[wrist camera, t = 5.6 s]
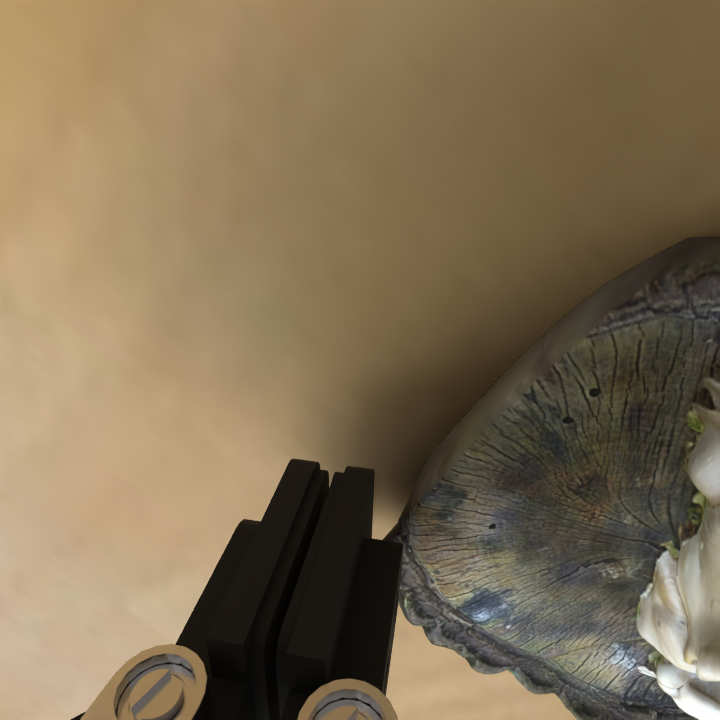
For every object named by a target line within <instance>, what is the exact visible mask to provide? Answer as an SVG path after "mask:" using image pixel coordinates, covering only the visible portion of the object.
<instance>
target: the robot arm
mask: <svg viewBox="0 0 720 720" xmlns="http://www.w3.org/2000/svg"><path fill="white" fill-rule="evenodd" d="M373 496H374V469H366V468H359V467H351V466H347V467H346V469H345V471H344V473H341V472H335V474H334V476H333V479H332V482H331V485H330V488H329V473H328V471H326V470H320V464H319V462H314V461H306V460H299V459H291V460H290V462H289V463H288V466H287V468H286V470H285V472H284V474H283V476H282V478H281V480H280V482H279V485H278V487H277V489H276V491H275V493H274V495H273V497H272V499H271V501H270V504H269V506H268V508H267V510H266V512H265V514H264V516H263V518H262V520H261V522H260V521H253V520H247V519H243V520H242V521H241V522H240V523H239V525H238V526H237V528H236V530H235V532H234V533H233V535H232V537H231V539H230V541H229V543H228V545H227V547H226V549H225V551H224V553H223V554H222V556H221V558H220V560H219V562H218V564H217V566H216V568H215V570H214V572H213V574H212V576H211V577H210V579H209V581H208V583H207V585H206V587H205V589H204V591H203V593H202V595H201V597H200V599H199V600H198V602H197V604H196V606H195V608H194V610H193V612H192V614H191V616H190V618H189V620H188V622H187V623H186V625H185V627H184V629H183V631H182V633H181V635H180V637H179V639H178V641H177V643H176V644H175V645H173V644H169V645H160V646H155V647H153V648H150V649H147V650H145V651H142V652H140V653H139V654H137V655H136V656H134V657H133V658H131V659H130V660H128V661H127V662H126V663H125V664H124V665H123V666H122V667H121V668H120V669H119V670H118V671H117V672H116V673H115V674H114V676H113V677H112V678H111V680H110V681H109V682H108V684H107V685H106V686H105V688H104V689H103V690H102V691H101V693H100V694H99V695H98V697H97V698H96V699H95V701H94V702H93V703H92V705H91V706H90V707H89V708H88V710H87V711H86V712H84V713H82V714H80V715H78V716H77V717H75V718H73V719H71V720H398V718H397V714H396V713H395V711H394V709H393V707H392V705H391V703H390V701H389V700H388V699H387V697H386V689H387V682H388V674H389V667H390V660H391V652H392V645H393V638H394V630H395V623H396V615H397V608H398V599H399V591H400V582H401V571H402V560H403V547H404V543H397V542H391V541H384V540H377V539H372V517H373Z"/></svg>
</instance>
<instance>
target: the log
mask: <svg viewBox="0 0 720 720" xmlns="http://www.w3.org/2000/svg"><path fill="white" fill-rule="evenodd" d="M398 521H399V522H398V523H397V524H396V525H395V526H394V528H393V529H392V530H391V531H390V532H389V533H388V534H387V535H386V537H385V538H384V539H383V540H384V541H391V542H397V543H404V547H403V560H402V571H401V582H400V591H399V599H398V602H399V605H400V607H401V609H402V611H403V614H404V616H405V618H406V619H407V620H408V621H409V622H410V623H411V624H413V625H416V626H422V627H423V629H424V632H425V634H426V636H427V638H428V639H429V641H430V642H431V643H432V644H434V645H437V646H442V647H446V648H449V649H452V650H454V651H456V652H457V653H458V654H459V655H461V656H462V657H464V658H465V659H466V660H467V661H468V663H469V664H470V666H471V667H472V668H473V669H474V670H475V671H476V672H479V673H482V674H496V673H500V672H502V671H505V670H508V671H509V672H511V673H512V674H513V675H514V676H515V677H516V679H517V680H518V681H519V682H520V683H521V684H522V685H523V686H524V687H525V688H526V689H527V690H528V691H530V692H532V693H534V694H549V693H555V694H556V695H557V696H558V697H559V698H560V700H561V701H562V702H563V704H564V705H565V707H566V708H567V709H568V710H569V711H570V712H571V713H572V714H573V715H574V716H575V718H576V719H577V720H720V237H702V238H687V239H685V240H683V241H681V242H679V243H677V244H675V245H673V246H671V247H669V248H667V249H665V250H663V251H661V252H659V253H657V254H655V255H654V256H652V257H650V258H648V259H647V260H645V261H643V262H642V263H640V264H638V265H636V266H635V267H633V268H631V269H630V270H628V271H626V272H625V273H623V274H621V275H620V276H618V277H616V278H614V279H613V280H611V281H609V282H608V283H606V284H604V285H603V286H601V287H599V288H598V289H597V290H596V291H595V292H593V293H592V294H591V295H590V296H588V297H587V298H586V299H585V300H584V301H582V302H581V303H580V304H579V305H577V306H576V307H575V308H574V309H573V310H571V311H570V312H569V313H568V314H567V315H565V316H564V317H563V318H562V319H561V320H559V321H558V322H557V323H556V324H555V325H554V326H553V327H551V328H550V329H549V330H548V331H547V332H546V333H545V334H544V335H543V336H541V337H540V338H539V339H538V340H537V341H536V342H535V343H534V344H533V345H532V346H531V347H530V348H529V349H528V350H527V351H526V352H525V353H523V354H522V355H521V356H520V357H519V358H518V359H517V360H516V361H515V362H514V363H513V364H512V365H511V366H510V367H509V368H508V369H507V370H505V371H504V372H503V373H502V375H501V376H500V377H499V378H498V379H497V380H496V381H495V382H494V384H493V385H492V386H491V387H490V388H489V389H488V390H487V391H486V393H485V394H484V395H483V396H482V397H481V398H480V399H479V400H478V402H477V403H476V404H475V405H474V406H473V407H472V408H471V409H470V411H469V412H468V413H467V414H466V415H465V416H464V417H463V418H462V420H461V421H460V422H459V423H458V424H457V425H456V426H455V427H454V429H453V430H452V431H451V432H450V433H449V434H448V435H447V436H446V438H445V439H444V440H443V441H442V442H441V443H440V444H439V445H438V446H437V448H436V449H435V450H434V452H433V453H432V454H431V456H430V457H429V458H428V460H427V461H426V463H425V465H424V467H423V470H422V472H421V474H420V476H419V478H418V480H417V482H416V485H415V487H414V489H413V491H412V493H411V495H410V497H409V500H408V502H407V504H406V506H405V508H404V510H403V512H402V514H401V516H400V518H399V520H398Z"/></svg>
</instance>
